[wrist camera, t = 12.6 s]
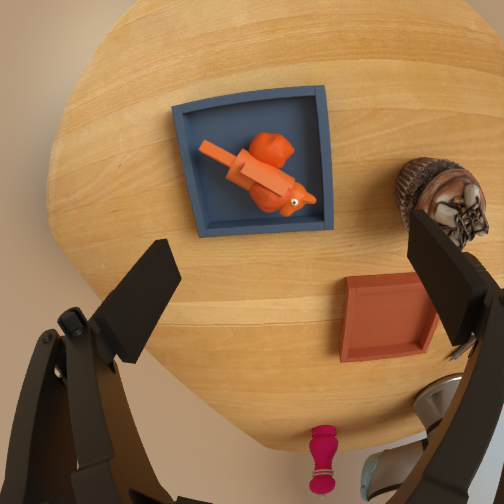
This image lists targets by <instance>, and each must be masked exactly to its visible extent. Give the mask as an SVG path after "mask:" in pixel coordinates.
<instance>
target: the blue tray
mask: <svg viewBox="0 0 504 504" xmlns="http://www.w3.org/2000/svg"><path fill="white" fill-rule="evenodd" d="M171 108H172V113H173V119H174V124H175V129H176V135H177V140H178V145H179V150H180V155H181V160H182V164H183V169H184V174H185V178H186V183H187V188H188V192H189V196H190V201H191V205H192V210H193V214H194V218H195V222H196V227H197V231H198V235H199V238H203V237H216V236H231V235H247V234H263V233H280V232H298V231H317V230H324V229H325V230H334V211H333V179H332V160H331V145H330V132H329V120H328V110H327V100H326V91H325V86H324V85H319V86H299V87H286V88H275V89H265V90H257V91H249V92H242V93H236V94H230V95H224V96H218V97H213V98H207V99H203V100H198V101H193V102H189V103H184V104H180V105H176V106H172V107H171ZM261 132H266V133H272V134H281V135H282V136H283V137H284V138H285V139H286V140H287V141H288V142H289V143H290V144H291V145H292V147H293V148H294V150H295V151H294V153H293V154H292V155H291V156H290V157H289V158H288V159H287V160H286V162H285V164H284V166H283V167H282V168H279V169H280V170H281V171H283V172H285V173H286V174H288V175H290V176H291V177H293V178H295V182H298V183H300V184H301V185H302V186H303V187H304V188H305V189H306V191H307V192H308V193H310V194H312V195H313V196H314V197H315V198H316V202H315V203H314V204H305V205H304V206H303V207H302V208H301V209H299V210H297V211H295V212H293V213H292V214H291V215H290V216H288V217H284V216H282V215H281V214H280V212H279V209H278V210H276V211H274V212H271V213H267V212H264V211H263V210H261V209H260V208H259V207H258V206H257V204H256V203H255V201H254V200H253V199H252V198H251V196H250V194H249V191H248V190H246V189H244V188H242V187H240V186H239V185H237V184H235V183H233V182H232V181H230V180H228V179H226V176H227V173H228V172H229V170H230V168H229V167H227V166H225V165H223V164H221V163H220V162H218V161H216V160H214V159H212V158H210V157H208V156H207V155H205V154H203V153H201V151H200V150H199V148H200V146H201V145H202V143H203V141H204V140H206V141H208V142H210V143H212V144H214V145H216V146H218V147H220V148H222V149H223V150H225V151H227V152H229V153H231V154H233V155H234V156H236V157H237V156H238V154H239V153H240V151H241V150H242V149H245V150H247V151H248V152H249V147H250V144H251V142H252V140H253V139H254V138H255V136H256V135H257V134H258V133H261Z"/></svg>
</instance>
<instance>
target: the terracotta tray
mask: <svg viewBox="0 0 504 504" xmlns="http://www.w3.org/2000/svg"><path fill="white" fill-rule="evenodd" d="M439 319H440V318H439V315H438V313H437V311H436V309H435V307H434V305H433V303H432V301H431V299H430V297H429V295H428V293H427V292H426V290H425V288H424V286H423V284H422V282H421V280H420V279H419V277H418V275H417V273H416V272H411V273H398V274H384V275H368V276H352V277H346V286H345V299H344V311H343V321H342V331H341V340H340V348H339V355H340V363H344V362H357V361H368V360H378V359H387V358H395V357H403V356H410V355H416V354H422V353H426V351H427V349H428V346H429V344H430V342H431V339H432V337H433V334H434V332H435V329H436V327H437V324H438V321H439Z"/></svg>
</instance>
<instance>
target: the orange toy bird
mask: <svg viewBox="0 0 504 504" xmlns="http://www.w3.org/2000/svg"><path fill="white" fill-rule="evenodd" d="M199 150H200V151H201V153H203V154H205V155H207V156H208V157H210V158H212V159H214V160H216V161H218V162H220V163H221V164H223V165H225V166H227V167H229V168H230V170H229V172H228V173H227V176H226V179H228V180H230V181H232V182H233V183H235V184H237V185H239V186H240V187H242V188H244V189H246V190H248V191H249V194H250V196H251V198H252V199H253V200H254V201H255V203H256V204H257V206H258V207H259V208H260V209H261V210H263V211H264V212H267V213H271V212H274V211H276V210H278V209H279V212H280V214H281V215H282V216H284V217H288V216H290V215H291V214H292V213H293V212H295V211H297V210H299V209H301V208H302V207H303V206H304V205H305V204H314V203H315V202H316V198H315V197H314V196H313V195H312V194H310V193H308V192H307V191H306V189H305V188H304V187H303V186H302V185H301V184H300V183H298V182H295V178H293V177H291V176H290V175H288V174H286V173H285V172H283V171H281V170H280V169H279V168H282V167H283V166H284V164H285V162H286V160H287V159H288V158H289V157H290V156H291V155H292V154H293V153H294V151H295V150H294V148H293V147H292V145H291V144H290V143H289V142H288V141H287V140H286V139H285V138H284V137H283V136H282V135H281V134H272V133H266V132H261V133H258V134H257V135H256V136H255V138H254V139H253V140H252V142H251V144H250V147H249V152H248V151H247V150H245V149H242V150H241V151H240V153H239V154H238V156H237V157H236V156H234V155H233V154H231V153H229V152H227V151H225V150H223V149H222V148H220V147H218V146H216V145H214V144H212V143H210V142H208V141H206V140H204V141H203V143H202V145H201V146H200V148H199Z"/></svg>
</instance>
